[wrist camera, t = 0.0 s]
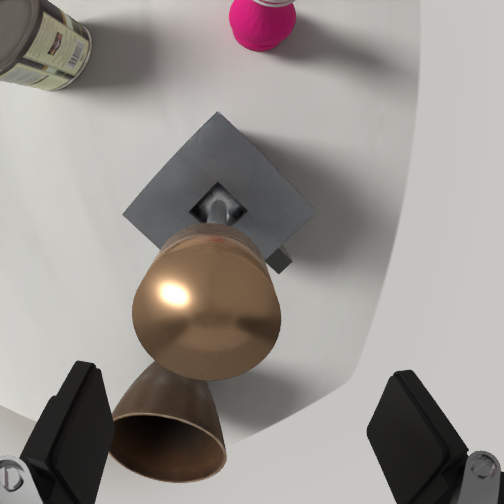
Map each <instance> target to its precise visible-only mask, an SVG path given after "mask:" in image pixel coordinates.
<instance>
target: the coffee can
mask: <svg viewBox="0 0 504 504" xmlns="http://www.w3.org/2000/svg"><path fill="white" fill-rule="evenodd" d="M91 49H92V40H91V35H90V33H89V31H88V30H87V28H86V27H85V26H83V25H82V24H80V23H78V22H77V21H75V20H74V19H73V18H71V17H70V16H69V15H67V14H66V13H64V12H63V11H62V10H60V9H59V8H57V7H56V6H55V5H53V4H52V3H50V2H49V1H48V0H0V81H5V82H10V83H15V84H20V85H25V86H29V87H34V88H39V89H41V90H45V91H55V90H59V89H62V88H63V87H66V86H67V85H69V84H70V83H72V82H73V81H74V80H75V79H76V78H77V77H78V76H79V75H80V74H81V72H82V71H83V69H84V68H85V66H86V64H87V62H88V60H89V57H90V54H91Z"/></svg>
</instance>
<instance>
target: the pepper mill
mask: <svg viewBox="0 0 504 504" xmlns="http://www.w3.org/2000/svg"><path fill="white" fill-rule="evenodd" d="M294 1H295V0H234V2H233V3H232V5H231V8H230V12H229V22H230V25H231V27H232V29H233V34H234V37H235V38H236V40H237V41H238V43H239V44H241V45H242V46H244V47H245V48H247V49H250V50H254V51H266V50H270V49H272V48H274V47H276V46H277V45H278V44H279V43H280V42H281V41H282V40H284V39H285V38H286V37H288V36H289V35H290V33H291V32H292V30H293V28H294V25H295V22H296V12H295V8H294V5H293V3H292V2H294Z"/></svg>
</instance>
